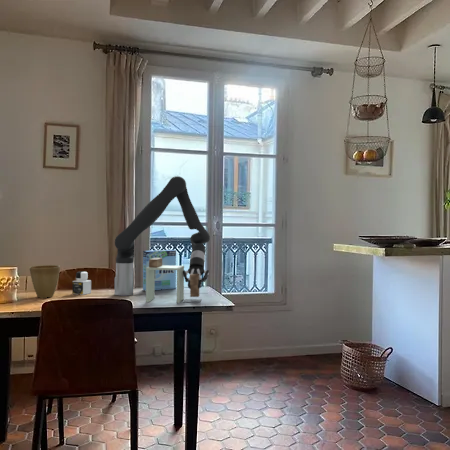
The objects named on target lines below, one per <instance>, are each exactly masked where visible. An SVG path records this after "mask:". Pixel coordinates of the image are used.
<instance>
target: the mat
mask: <svg viewBox="0 0 450 450" xmlns="http://www.w3.org/2000/svg"><path fill="white" fill-rule="evenodd" d="M201 302H202V299H201V298H198V299H197V298H184V299H183V300H182V303H184V304H200V303H201Z"/></svg>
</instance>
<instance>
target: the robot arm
mask: <svg viewBox="0 0 450 450" xmlns="http://www.w3.org/2000/svg"><path fill="white" fill-rule="evenodd" d="M175 198H176V199H177V201H178V203H179V206H180V208H181V213H182V215H183V217H184V220H185V222H186V225H187V227H188V229H189V230H196V231H197V232H195V233H192V234H191V236H190V238H189V240H190V244H191V255H190V257H189V258H190V259H189V260H190V261H189V268H188V269H187V270H185V269H184V270H183V275H184V282H186V283H187V288H188V289H189V290H190V274H199V282H198V289H199V290H200V289H201V287H202V284H203V283H206V281H207V279H208V277H209V275H210V271H209V270H208V269H207V270H205V261H206V260H205V259H206V257H205V256H206V247H205V244H207V243H208V242H209V241H210V238H211V237H210V234H209V232H208V230H207V229H206V228H205V227H204V225H203V224H202V222H201V221H200V218H199V215H198V213H197V210H196V209H195V207H194V205H193V203H192V200H191V199H190V195H189V192H188V188H187V182H186V179H184V178H183V177H182V176H179V175H177V176H176V175H175V176H172V177H171V178H170V179H169V181H168V182H167V184H166V185H165V186H164V187H163V189H162V190H161V192H159V193H158V195H156V196H155V197H154V198H152V199H151V200H150V202H148V203H147V204H146V205H145V206H144V207H143V208H142V210H140V212H139V213H138V214H137V215H136V217H135V218H134V219H133V221H132V222H131V223H130V224H129V225H128V226H127V227H126V228H125V229H123V231H121V232H120V233H118V235H116V237H115V239H114V246H115V248H116V249H117V252H116V253H117V254H116V258H115V277H114V293H113V294H114V296H120V297H121V296H123V297H124V296H125V297H126V296H132V295H134V258H135V245H136V244H135V240H136V239H137V238H138V237H139V235H141V234H142V233H143V232H144V231H145V230H147V229H148V228H149V227H150V226H151V225H153V224H154V223H155V222H156V221H157V220H158V219H159V218H160V217H161V216H162V215H163V213H164V211H166V209H167V207H168V206H169V205H170V203H171V202H172V201H173V200H174V199H175ZM188 274H189V277H188V276H187V275H188ZM203 274H204V275H203Z"/></svg>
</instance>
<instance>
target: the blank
mask: <svg viewBox="0 0 450 450" xmlns="http://www.w3.org/2000/svg"><path fill="white" fill-rule="evenodd" d="M189 276H190V289H189V293H190V294H189V296H190V298H198V297H200V289H198V282H199V274H189Z"/></svg>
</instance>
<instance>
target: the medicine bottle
mask: <svg viewBox="0 0 450 450" xmlns="http://www.w3.org/2000/svg"><path fill="white" fill-rule="evenodd" d="M88 274H89V273H88V272H87V271H77V272H76V273H75V280H72V283H71V284H72V287H71V288H72V295H78V294H80V296H83V295H89V294H91V293H92V280H91V279H88V278H89V277H88V276H89V275H88Z"/></svg>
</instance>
